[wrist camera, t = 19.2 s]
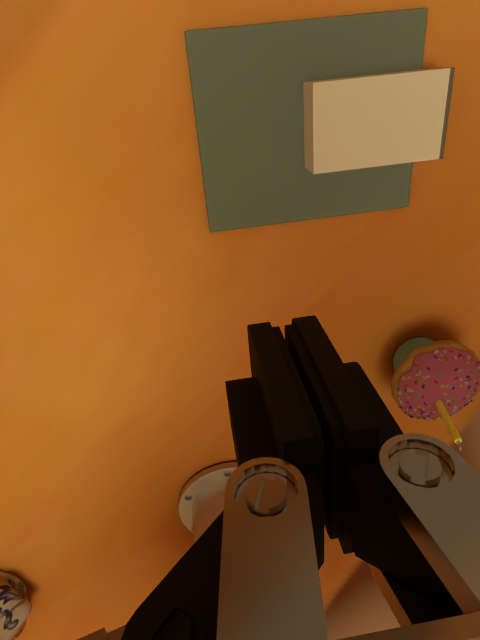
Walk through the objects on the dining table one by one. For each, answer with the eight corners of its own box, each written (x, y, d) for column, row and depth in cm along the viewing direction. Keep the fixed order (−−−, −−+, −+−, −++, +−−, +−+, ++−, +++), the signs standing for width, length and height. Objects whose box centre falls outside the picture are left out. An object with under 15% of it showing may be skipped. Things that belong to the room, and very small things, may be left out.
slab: (304, 167, 35) (425, 153, 36) (313, 174, 33) (442, 158, 34) (303, 81, 32) (435, 67, 33) (313, 82, 30) (454, 67, 31)
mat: (406, 205, 38) (408, 206, 38) (209, 230, 37) (210, 232, 37) (425, 8, 31) (428, 7, 31) (184, 31, 30) (184, 31, 30)
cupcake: (397, 400, 49) (457, 488, 39) (359, 353, 45) (415, 436, 35) (466, 356, 47) (548, 436, 37) (433, 303, 44) (515, 375, 33)
